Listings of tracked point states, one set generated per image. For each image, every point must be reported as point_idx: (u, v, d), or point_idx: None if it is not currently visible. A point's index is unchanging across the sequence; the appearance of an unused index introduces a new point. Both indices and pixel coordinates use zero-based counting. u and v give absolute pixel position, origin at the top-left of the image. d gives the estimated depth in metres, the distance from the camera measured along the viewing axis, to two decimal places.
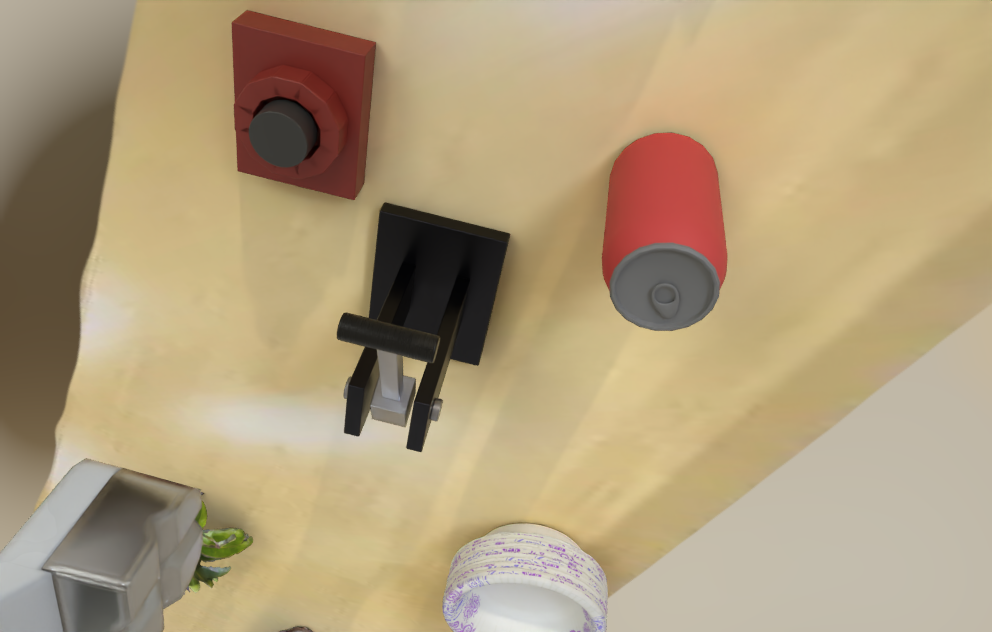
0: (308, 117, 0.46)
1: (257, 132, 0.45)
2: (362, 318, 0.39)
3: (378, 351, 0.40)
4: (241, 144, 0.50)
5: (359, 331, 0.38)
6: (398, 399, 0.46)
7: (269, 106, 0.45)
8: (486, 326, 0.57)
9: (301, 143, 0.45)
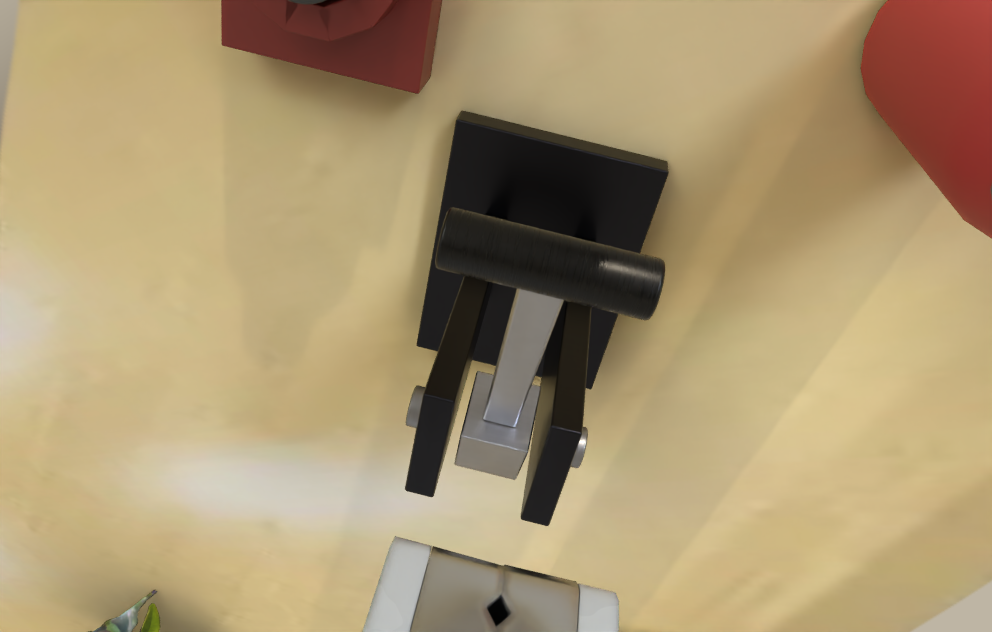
0: None
1: None
2: (493, 218, 0.17)
3: (520, 298, 0.18)
4: None
5: (490, 243, 0.17)
6: (514, 424, 0.24)
7: None
8: (613, 322, 0.36)
9: None
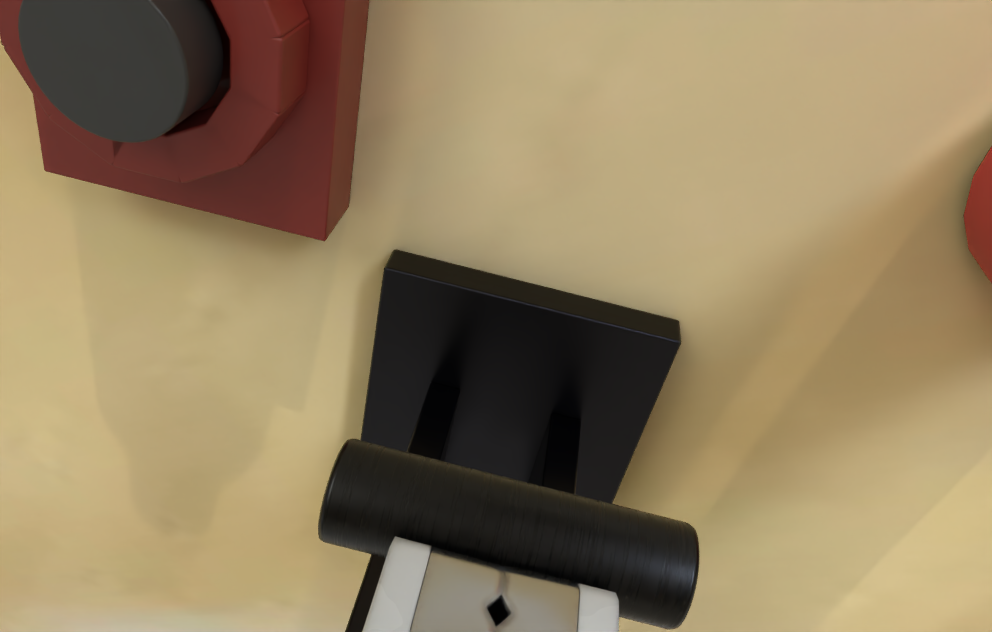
0: (195, 0, 0.16)
1: (43, 35, 0.16)
2: (417, 456, 0.11)
3: None
4: None
5: (410, 496, 0.10)
6: None
7: None
8: None
9: (169, 67, 0.16)
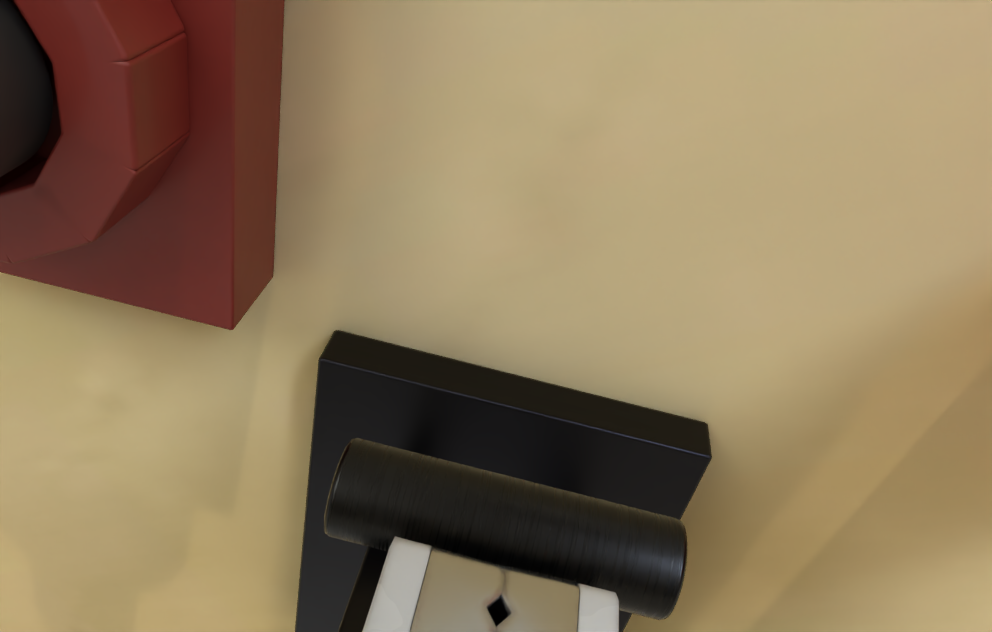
0: None
1: None
2: None
3: None
4: None
5: (421, 464, 0.11)
6: None
7: None
8: None
9: None
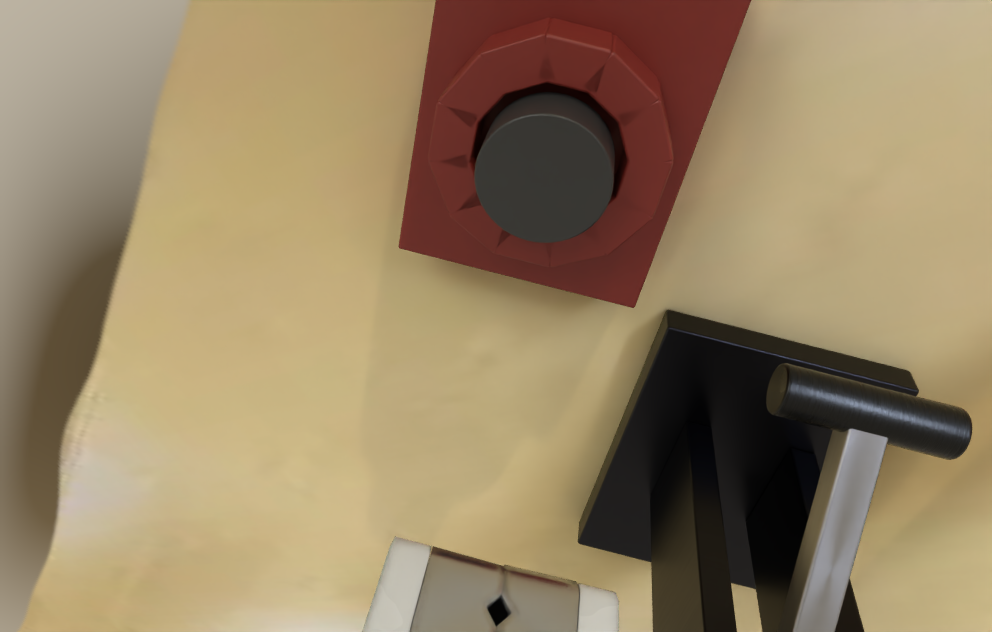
0: (607, 132, 0.20)
1: (497, 163, 0.20)
2: None
3: (849, 445, 0.20)
4: (417, 194, 0.24)
5: (827, 375, 0.20)
6: None
7: (529, 104, 0.20)
8: None
9: (598, 189, 0.20)
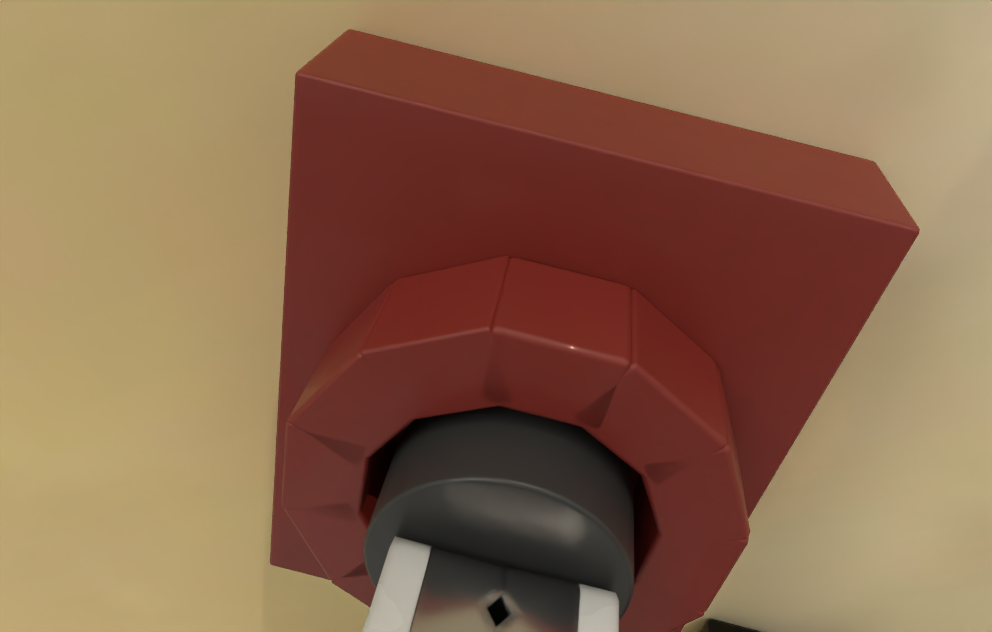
0: (621, 466, 0.11)
1: None
2: None
3: None
4: None
5: None
6: None
7: (467, 434, 0.10)
8: None
9: None
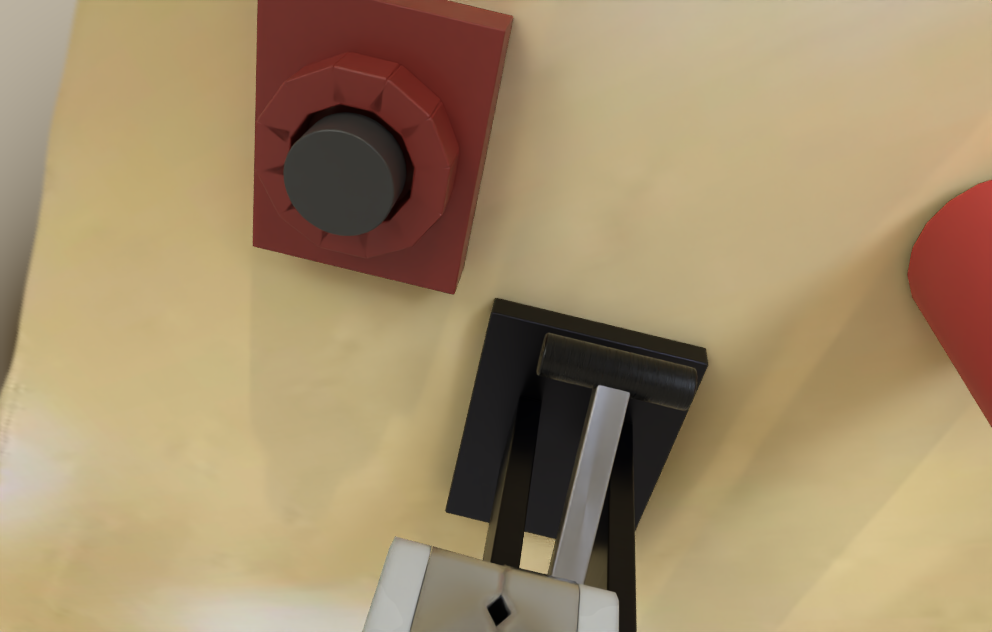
0: (394, 144, 0.25)
1: (300, 170, 0.24)
2: None
3: (597, 398, 0.25)
4: (262, 199, 0.29)
5: (580, 342, 0.25)
6: None
7: (324, 122, 0.24)
8: (648, 496, 0.35)
9: (382, 190, 0.24)
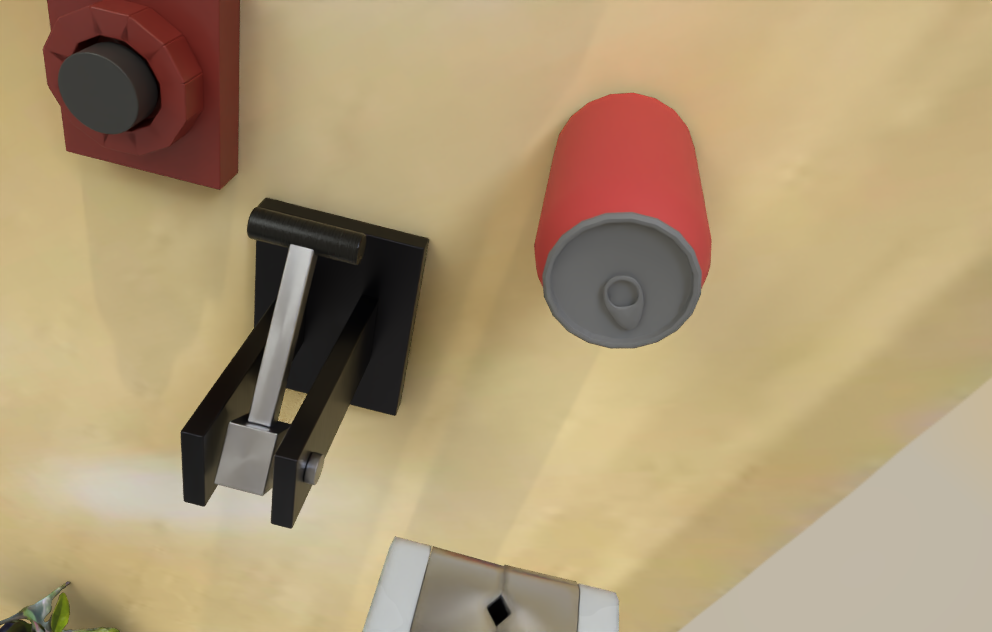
0: (142, 65, 0.34)
1: (69, 83, 0.33)
2: None
3: (289, 254, 0.34)
4: None
5: (278, 213, 0.34)
6: (270, 420, 0.34)
7: (86, 48, 0.33)
8: (403, 363, 0.44)
9: (129, 98, 0.33)
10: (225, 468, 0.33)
